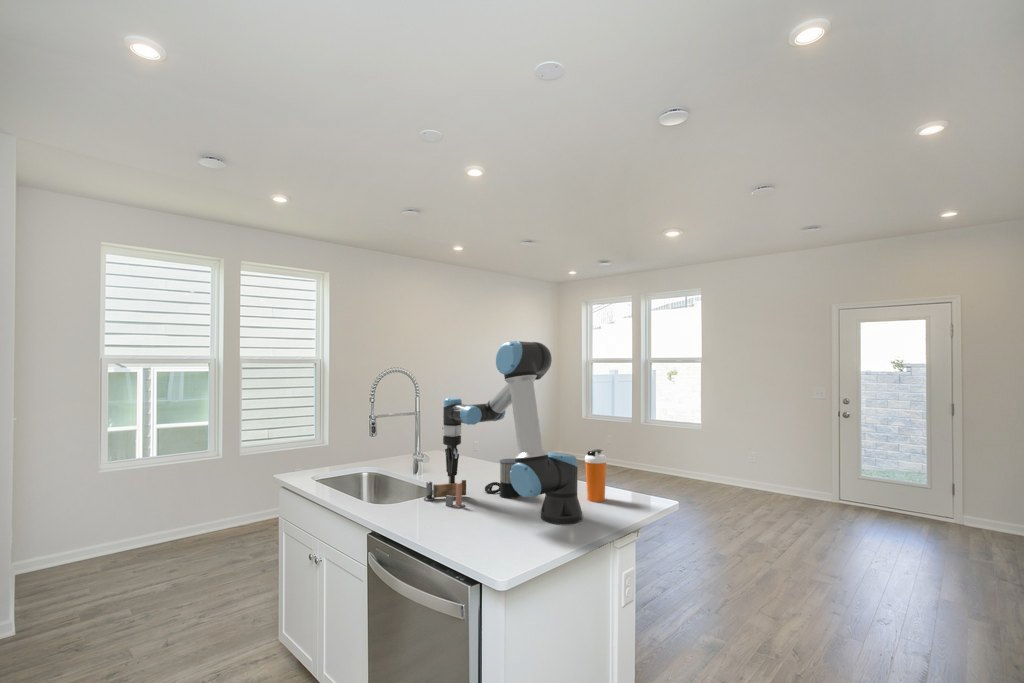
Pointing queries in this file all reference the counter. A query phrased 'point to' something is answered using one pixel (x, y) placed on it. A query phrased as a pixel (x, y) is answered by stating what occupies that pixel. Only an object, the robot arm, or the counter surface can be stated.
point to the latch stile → (458, 497)
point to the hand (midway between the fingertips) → (451, 490)
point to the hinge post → (429, 492)
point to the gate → (447, 489)
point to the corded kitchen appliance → (504, 481)
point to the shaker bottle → (595, 475)
